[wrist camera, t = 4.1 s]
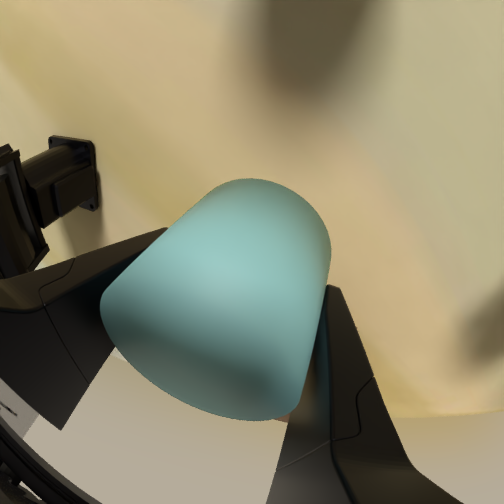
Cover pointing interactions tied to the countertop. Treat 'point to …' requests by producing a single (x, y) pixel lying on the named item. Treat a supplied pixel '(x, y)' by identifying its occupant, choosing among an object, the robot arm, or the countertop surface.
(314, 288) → the teal rounded cylinder
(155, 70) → the countertop surface
